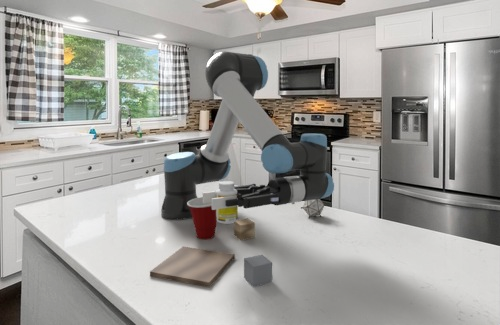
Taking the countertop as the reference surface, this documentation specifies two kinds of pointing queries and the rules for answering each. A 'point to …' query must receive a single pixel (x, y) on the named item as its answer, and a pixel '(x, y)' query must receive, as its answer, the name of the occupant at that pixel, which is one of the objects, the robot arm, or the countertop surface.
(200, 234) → the plastic cup
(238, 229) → the oak block
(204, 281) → the walnut board
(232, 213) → the supplement bottle
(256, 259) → the slate block
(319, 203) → the game die
